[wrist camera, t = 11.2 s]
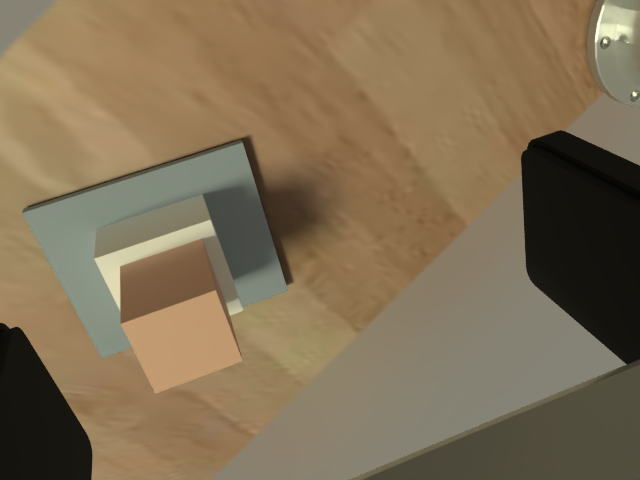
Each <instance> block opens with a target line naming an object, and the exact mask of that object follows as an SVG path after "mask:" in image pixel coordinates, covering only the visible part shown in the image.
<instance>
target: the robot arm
mask: <svg viewBox="0 0 640 480" xmlns="http://www.w3.org/2000/svg"><path fill="white" fill-rule="evenodd" d="M587 51H588V60H589V65H590V68H591V71H592V75H593V77H594V79H595V81H596V82H597V84H598V86H599V87H600V89H601V90H602V91H603V92H604V93H605V94H606V95H608V96H609V97H610V98H612V99H614V100H616V101H618V102H620V103H622V104H625V105H628V106H631V107H640V0H596V3H595V6H594V8H593V11H592V15H591V20H590V24H589V29H588V42H587ZM521 166H522V187H523V209H524V231H525V252H526V269H527V273H528V276H529V278H530V280H531V281H532V283H534V285H535V286H536V287H537V288H539V289H540V290H541V291H542V292H543V293H544V294H546V295H547V296H548V297H549V298H550V299H551V300H553V301H554V302H555V303H556V304H557V305H559V307H561V308H562V309H563V310H565V312H566V313H568V314H569V315H570V316H571V317H572V318H574V319H575V320H576V321H577V322H578V323H579V324H581V325H582V326H583V327H584V328H585V329H586V330H587V331H589V332H590V333H591V334H592V335H593V336H594V337H596V338H597V339H598V340H599V341H600V342H601V343H602V344H604V345H605V346H606V347H607V348H608V349H609V350H611V351H612V352H613V353H614V354H615V355H617V356H618V357H619V358H620V359H621V360H622V361H623V362H625V363H626V364H627V365H625V366H622V367H620V368H617V369H615V370H613V371H610V372H608V373H606V374H603V375H601V376H598V377H596V378H593V379H591V380H588V381H586V382H583V383H581V384H579V385H576V386H574V387H571V388H569V389H566V390H564V391H562V392H559V393H557V394H554V395H552V396H549V397H547V398H544V399H542V400H539V401H537V402H535V403H533V404H530V405H527V406H525V407H522V408H520V409H518V410H515V411H513V412H510V413H508V414H506V415H503V416H501V417H498V418H496V419H494V420H491V421H489V422H486V423H484V424H482V425H479V426H477V427H475V428H472V429H470V430H467V431H465V432H462V433H460V434H458V435H455V436H453V437H450V438H448V439H446V440H443V441H441V442H438V443H436V444H433V445H431V446H429V447H426V448H424V449H421V450H419V451H417V452H414V453H412V454H410V455H407V456H405V457H403V458H400V459H398V460H395V461H393V462H390V463H388V464H386V465H383V466H381V467H378V468H376V469H374V470H371V471H369V472H366V473H364V474H362V475H359V476H357V477H354V478H352V479H350V480H640V166H639V165H637V164H635V163H633V162H631V161H628V160H626V159H624V158H622V157H619V156H617V155H615V154H613V153H611V152H609V151H607V150H604V149H602V148H600V147H598V146H596V145H594V144H591V143H589V142H587V141H585V140H583V139H580V138H578V137H576V136H574V135H572V134H570V133H567V132H565V131H561V130H560V131H556V132H553V133H551V134H548V135H545V136H542V137H539V138H536V139H533V140H531V141H530V142H529V144H528V147H527V150H525V151H524V152H523V153H522V156H521ZM91 474H92V448H91V444H90V440H89V438H88V436H87V434H86V432H85V430H84V429H83V427H82V426H81V424H80V422H79V421H78V419H77V417H76V416H75V414H74V413H73V411H72V409H71V408H70V406H69V405H68V403H67V401H66V400H65V398H64V396H63V395H62V393H61V392H60V390H59V388H58V387H57V385H56V384H55V382H54V380H53V379H52V377H51V375H50V374H49V372H48V371H47V369H46V367H45V366H44V364H43V363H42V361H41V359H40V358H39V356H38V355H37V353H36V351H35V350H34V348H33V346H32V345H31V343H30V342H29V340H28V338H27V337H26V335H25V334H24V332H23V331H22V330H21V329H20V328H19V327H14V328H11V329H9V327H7V326H6V325H5V324H3V323H0V480H91Z"/></svg>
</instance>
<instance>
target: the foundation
mask: <svg viewBox="0 0 640 480" xmlns="http://www.w3.org/2000/svg"><path fill="white" fill-rule="evenodd" d="M22 214H23V215H24V217H25V219H26V221H27V223H28V225H29V226H30V228H31V230H32V232H33V234H34V235H35V237H36V239H37V241H38V243H39V245H40V246H41V248H42V250H43V252H44V254H45V256H46V257H47V259H48V261H49V263H50V265H51V267H52V268H53V270H54V272H55V274H56V276H57V278H58V279H59V281H60V283H61V285H62V287H63V289H64V290H65V292H66V294H67V296H68V298H69V299H70V301H71V303H72V305H73V307H74V309H75V310H76V312H77V314H78V316H79V318H80V320H81V321H82V323H83V325H84V327H85V329H86V331H87V332H88V334H89V336H90V338H91V340H92V342H93V343H94V345H95V347H96V349H97V351H98V353H99V354H100V356H101V358H104V357H107V356H109V355H112V354H115V353H118V352H120V351H123V350H126V349H129V348H131V347H132V346H131V344H130V342H129V340H128V338H127V336H126V334H125V332H124V330H123V328H122V326H121V322H120V266H123V265H126V264H129V263H131V262H134V261H137V260H140V259H143V258H146V257H149V256H152V255H155V254H158V253H161V252H164V251H167V250H170V249H173V248H176V247H179V246H181V245H184V244H187V243H190V242H193V241H196V240H199V239H202V241H203V243H204V246H205V249H206V251H207V254H208V257H209V259H210V262H211V265H212V267H213V270H214V273H215V275H216V278H217V281H218V283H219V286H220V289H221V291H222V294H223V297H224V299H225V302H226V305H227V308H228V312H229V315H233V314H235V313H238V312H241V311H243V308H242V307H245V306H248V305H250V304H253V303H256V302H259V301H261V300H264V299H267V298H270V297H272V296H275V295H278V294H281V293H283V292H286V291H288V289H287V286H286V283H285V279H284V276H283V273H282V269H281V266H280V263H279V260H278V256H277V253H276V250H275V246H274V243H273V240H272V237H271V233H270V230H269V227H268V223H267V220H266V217H265V214H264V210H263V207H262V204H261V201H260V197H259V194H258V191H257V187H256V184H255V181H254V178H253V174H252V171H251V168H250V164H249V161H248V158H247V155H246V151H245V148H244V145H243V142H242V140H238V141H235V142H232V143H229V144H226V145H223V146H219V147H216V148H213V149H210V150H207V151H204V152H201V153H198V154H194V155H191V156H188V157H185V158H182V159H179V160H176V161H172V162H169V163H166V164H163V165H160V166H157V167H154V168H150V169H147V170H144V171H141V172H138V173H135V174H132V175H129V176H125V177H122V178H119V179H116V180H113V181H110V182H107V183H103V184H100V185H97V186H94V187H91V188H88V189H85V190H81V191H78V192H75V193H72V194H69V195H66V196H63V197H60V198H56V199H53V200H50V201H47V202H44V203H41V204H38V205H34V206H31V207H28V208H25V209H23V212H22Z"/></svg>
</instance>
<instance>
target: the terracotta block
mask: <svg viewBox="0 0 640 480" xmlns="http://www.w3.org/2000/svg"><path fill="white" fill-rule="evenodd" d="M120 322H121V326H122V328H123V330H124V332H125V334H126V336H127V338H128V340H129V342H130V344H131V346H132V348H133V350H134V352H135V354H136V356H137V358H138V360H139V362H140V364H141V366H142V368H143V370H144V372H145V374H146V376H147V378H148V380H149V382H150V383H151V385H152V387H153V389H154V391H155V393H159V392H161V391H164V390H167V389H169V388H172V387H175V386H177V385H180V384H183V383H185V382H188V381H191V380H193V379H196V378H199V377H201V376H204V375H207V374H209V373H212V372H215V371H217V370H220V369H223V368H225V367H228V366H231V365H233V364H236V363H239V362H241V361H243V360H242V357H241V353H240V350H239V346H238V343H237V339H236V336H235V332H234V329H233V326H232V322H231V319H230V315H229V312H228V308H227V305H226V302H225V299H224V297H223V294H222V291H221V289H220V286H219V283H218V281H217V278H216V275H215V273H214V270H213V267H212V265H211V262H210V259H209V257H208V254H207V251H206V249H205V246H204V243H203V241H202V239H199V240H196V241H193V242H190V243H187V244H184V245H181V246H179V247H176V248H173V249H170V250H167V251H164V252H161V253H158V254H155V255H152V256H149V257H146V258H143V259H140V260H137V261H134V262H131V263H129V264H126V265H123V266H120Z"/></svg>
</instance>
